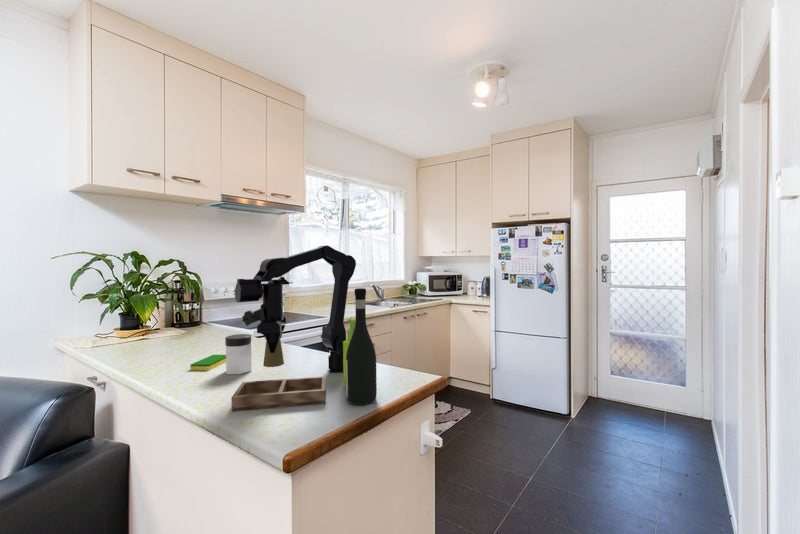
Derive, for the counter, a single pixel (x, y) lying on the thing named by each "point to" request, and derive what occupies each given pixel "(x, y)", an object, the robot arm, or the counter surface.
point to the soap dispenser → (347, 344)
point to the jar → (238, 354)
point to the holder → (279, 393)
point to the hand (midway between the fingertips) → (273, 351)
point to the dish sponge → (208, 362)
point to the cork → (273, 355)
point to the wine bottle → (361, 358)
